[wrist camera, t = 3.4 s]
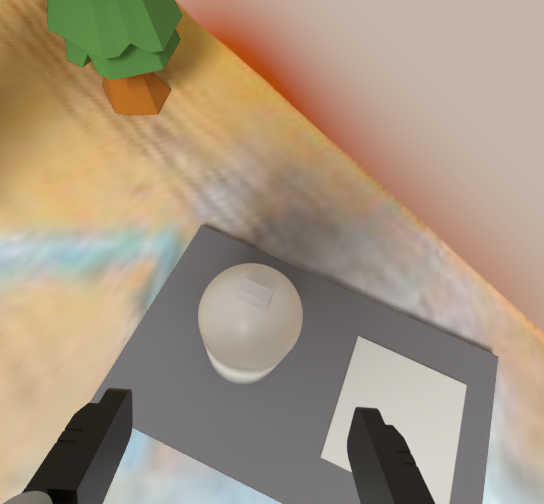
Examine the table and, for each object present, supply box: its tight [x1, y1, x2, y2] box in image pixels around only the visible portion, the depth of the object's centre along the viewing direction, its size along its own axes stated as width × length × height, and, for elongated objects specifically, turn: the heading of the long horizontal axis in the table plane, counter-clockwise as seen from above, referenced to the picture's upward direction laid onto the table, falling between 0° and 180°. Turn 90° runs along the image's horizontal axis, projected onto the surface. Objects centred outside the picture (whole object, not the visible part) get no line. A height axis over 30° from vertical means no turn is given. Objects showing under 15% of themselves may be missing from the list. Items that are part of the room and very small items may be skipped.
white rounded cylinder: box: [198, 263, 303, 385], centre depth 18 cm, size 5×5×12 cm
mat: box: [90, 225, 498, 504], centre depth 23 cm, size 24×14×1 cm, turn 66°
